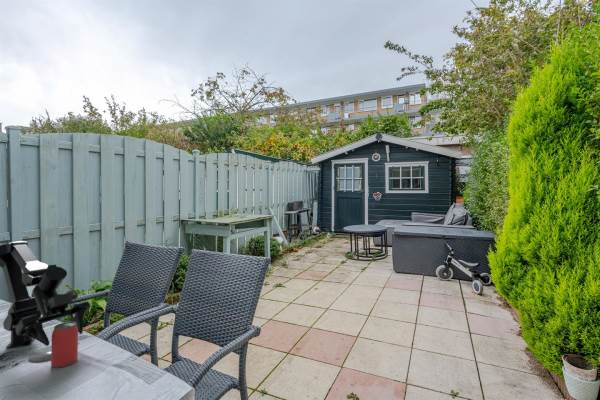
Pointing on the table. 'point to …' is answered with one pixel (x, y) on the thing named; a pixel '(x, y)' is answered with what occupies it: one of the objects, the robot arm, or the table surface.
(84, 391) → the table surface
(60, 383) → the table surface
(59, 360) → the beer can
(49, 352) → the slate coaster
